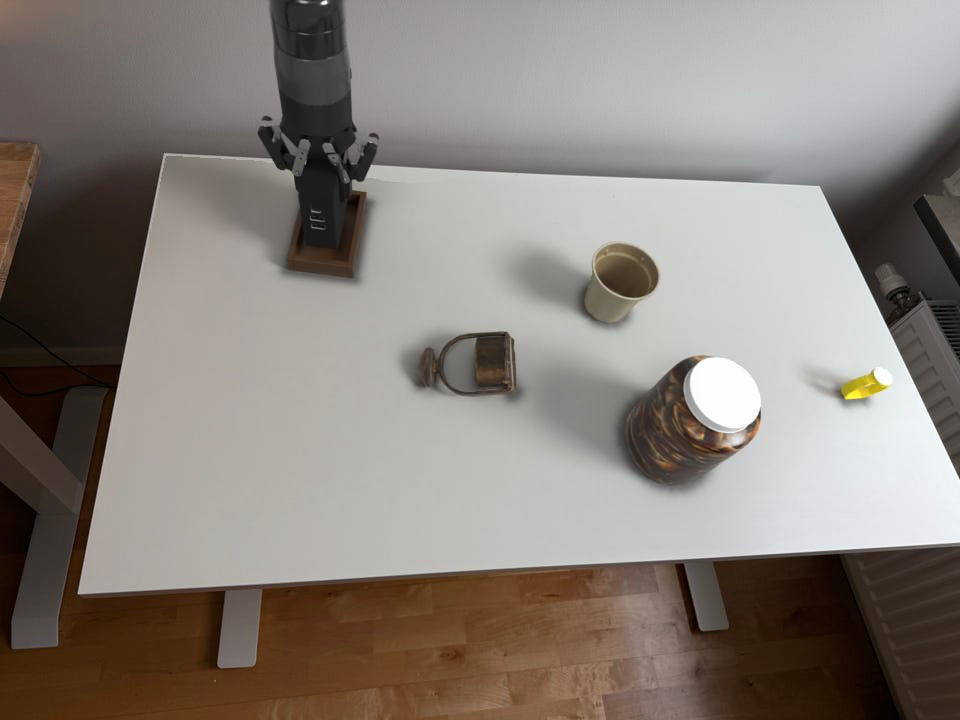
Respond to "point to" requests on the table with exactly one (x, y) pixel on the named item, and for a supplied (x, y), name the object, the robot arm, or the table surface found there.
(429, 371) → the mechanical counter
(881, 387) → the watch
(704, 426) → the jar
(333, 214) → the electronic device
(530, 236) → the table surface
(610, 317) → the flower pot
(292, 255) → the tray
